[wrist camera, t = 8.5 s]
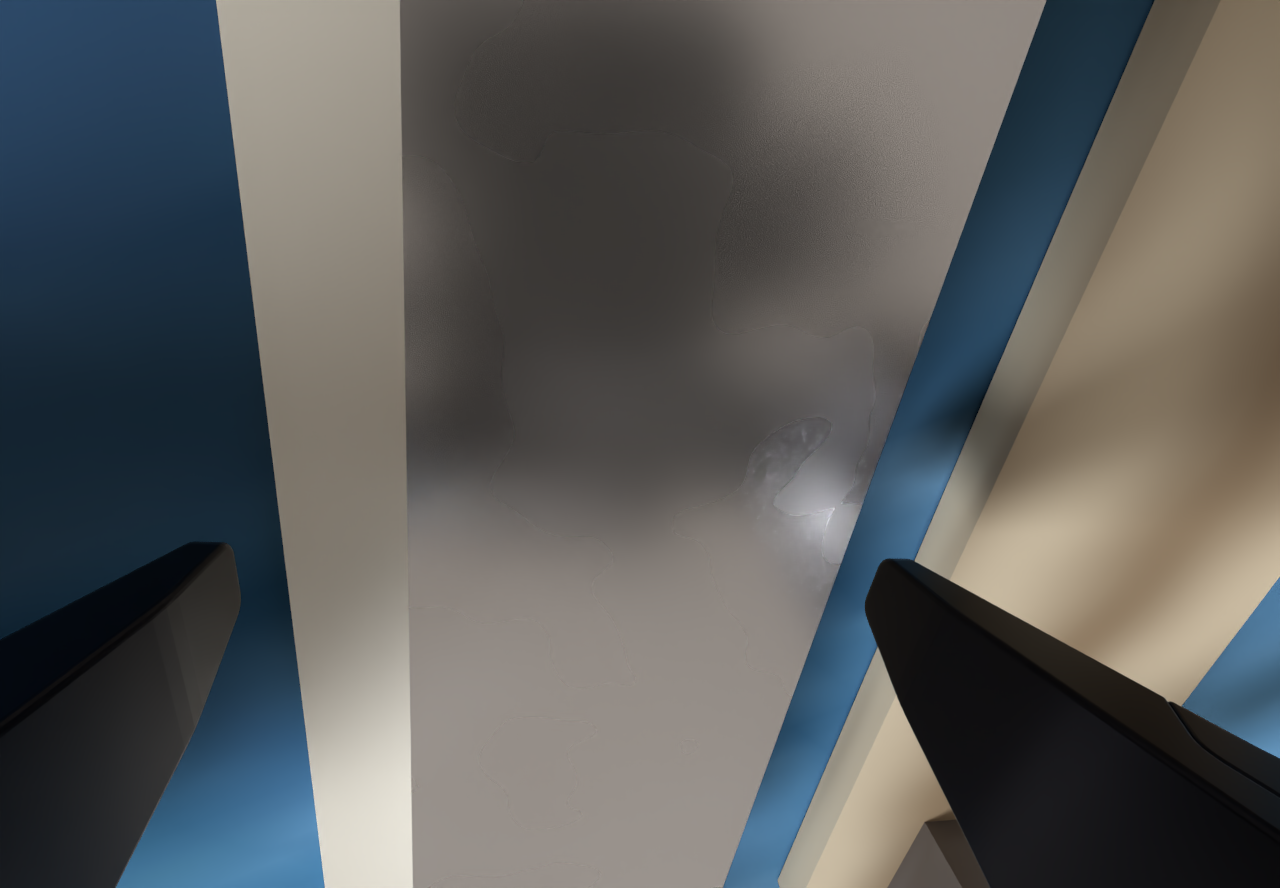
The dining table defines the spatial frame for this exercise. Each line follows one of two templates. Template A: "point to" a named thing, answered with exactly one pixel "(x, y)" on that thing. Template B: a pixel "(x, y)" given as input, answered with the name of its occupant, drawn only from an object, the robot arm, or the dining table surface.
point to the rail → (654, 391)
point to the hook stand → (1109, 431)
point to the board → (334, 391)
